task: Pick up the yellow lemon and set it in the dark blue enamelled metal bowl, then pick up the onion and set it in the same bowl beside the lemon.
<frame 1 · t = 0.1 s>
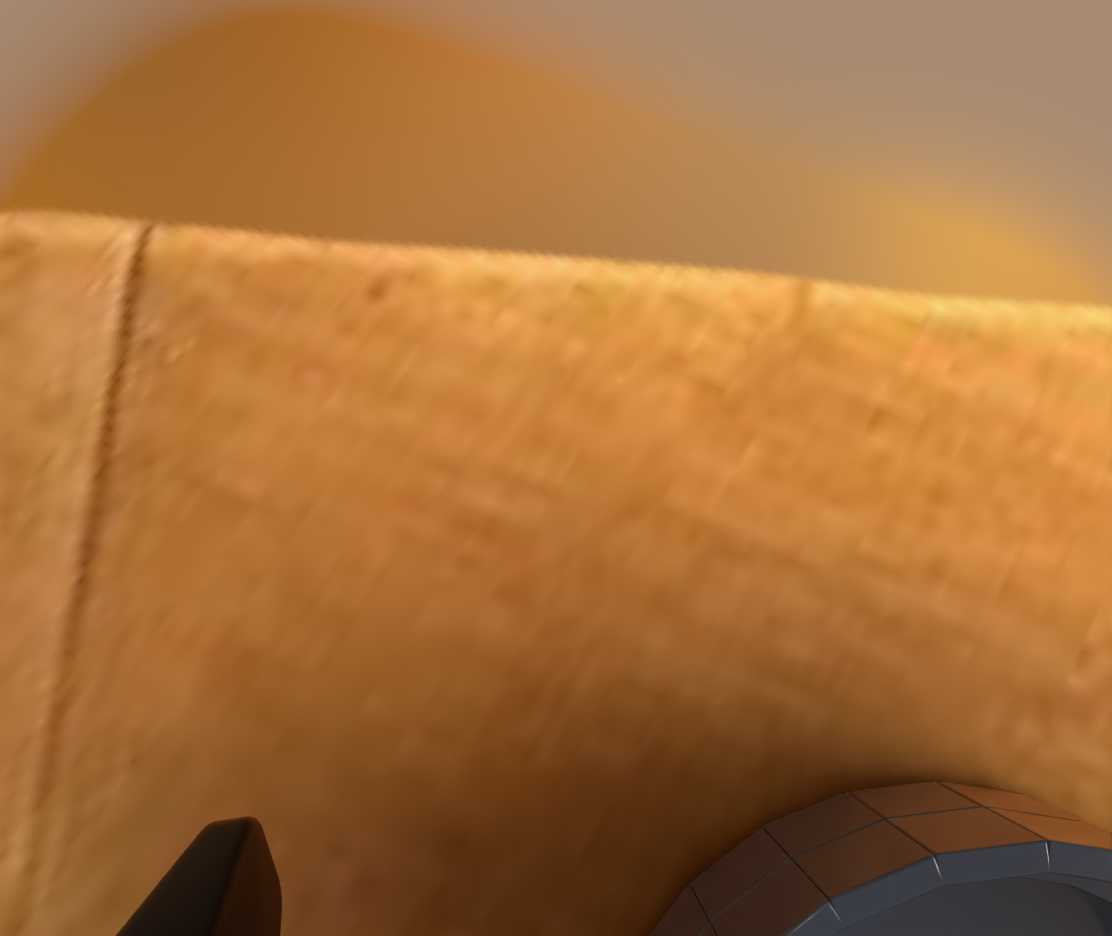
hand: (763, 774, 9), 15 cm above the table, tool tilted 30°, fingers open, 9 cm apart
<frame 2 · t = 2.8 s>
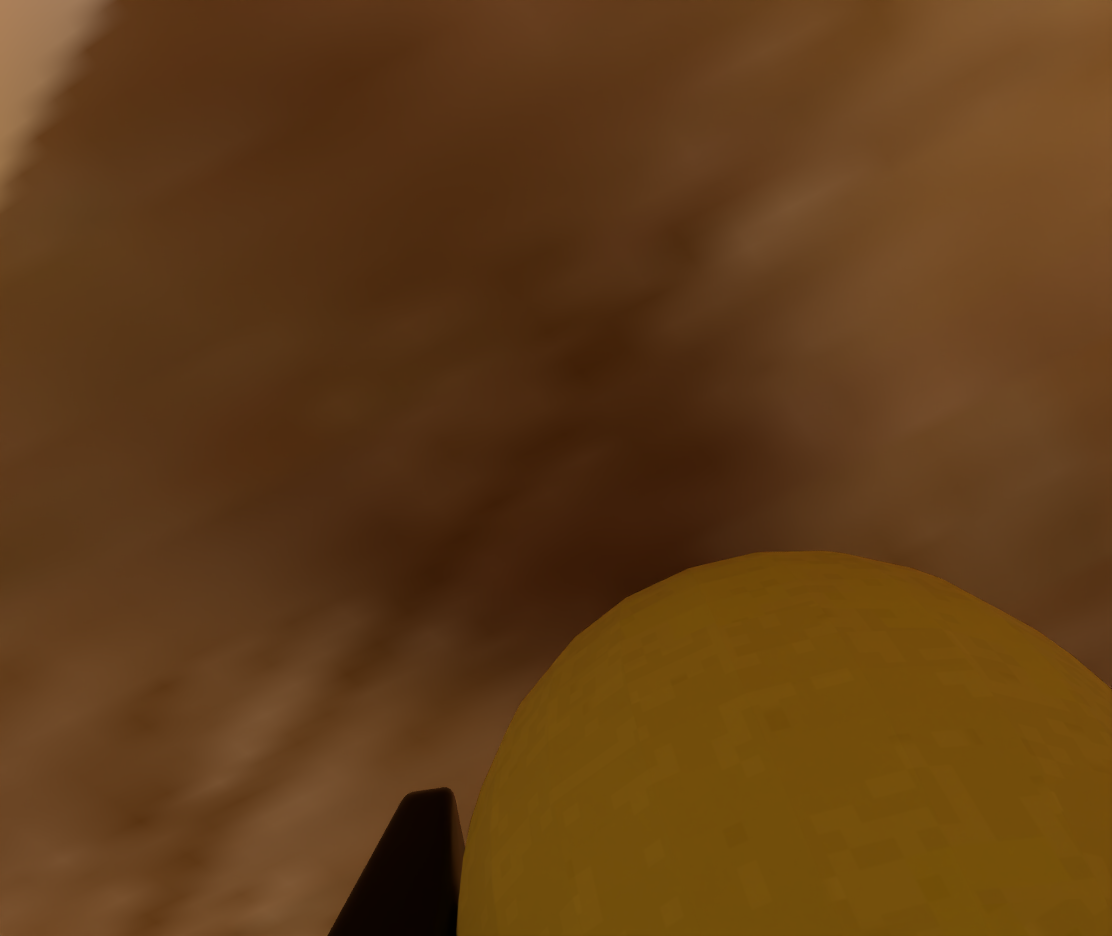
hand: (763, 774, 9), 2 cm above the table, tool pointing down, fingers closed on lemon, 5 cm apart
lemon: (700, 627, 11), on the table, touching gripper
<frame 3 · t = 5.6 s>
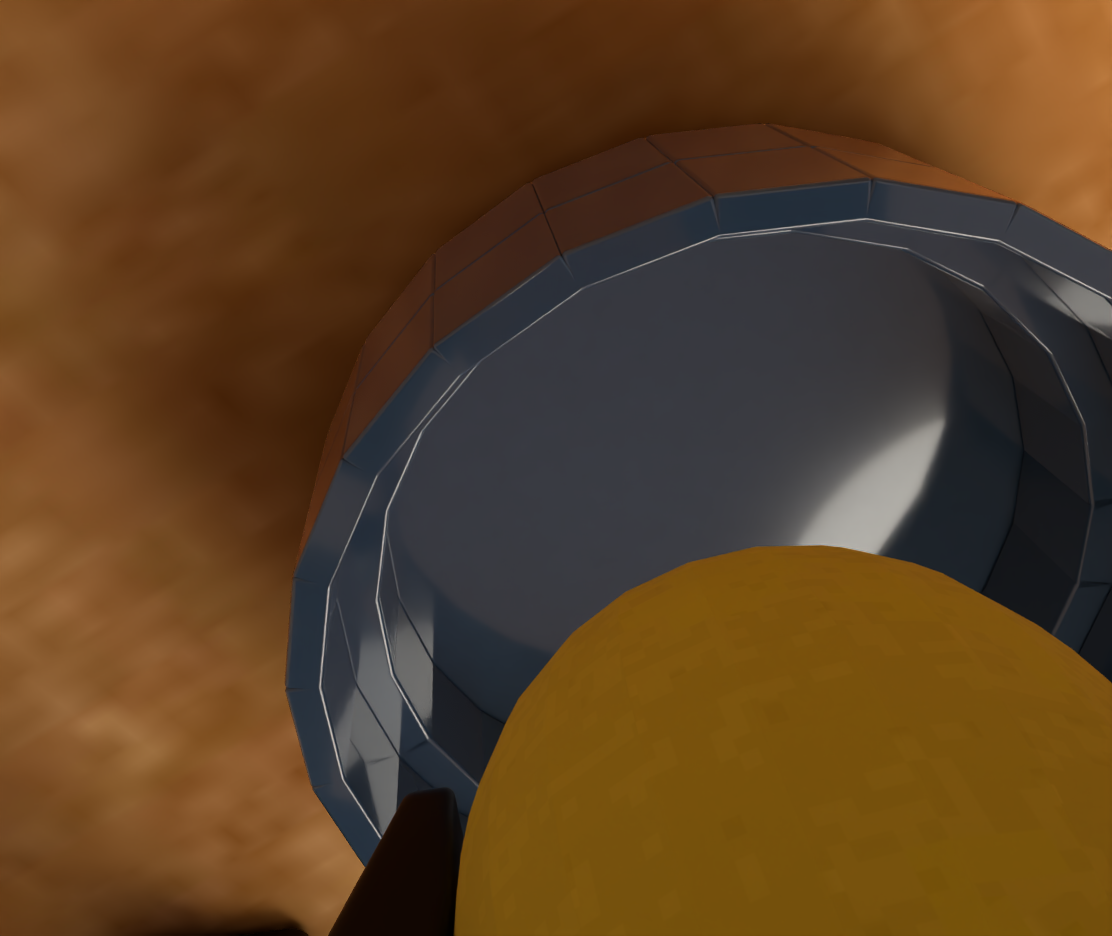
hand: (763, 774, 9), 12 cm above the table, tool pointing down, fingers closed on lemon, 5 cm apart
bowl: (704, 513, 22), on the table
lemon: (700, 623, 11), point 10 cm above the table, touching gripper
when the fingers open (3 cm above the table, at t = 8.8 s): lemon stays where it is, resting on bowl.
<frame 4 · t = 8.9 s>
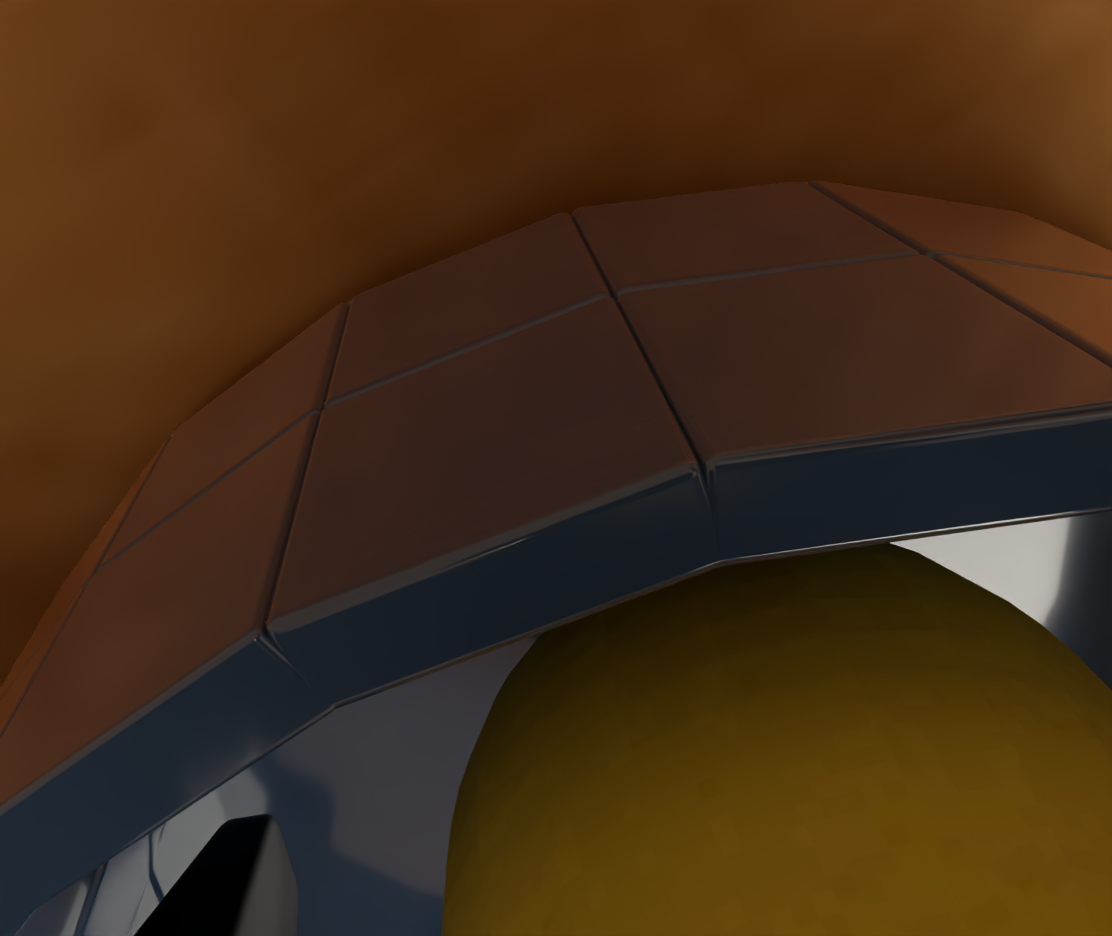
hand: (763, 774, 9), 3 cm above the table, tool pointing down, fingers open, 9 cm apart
bowl: (700, 808, 13), on the table
lemon: (688, 606, 11), resting on bowl
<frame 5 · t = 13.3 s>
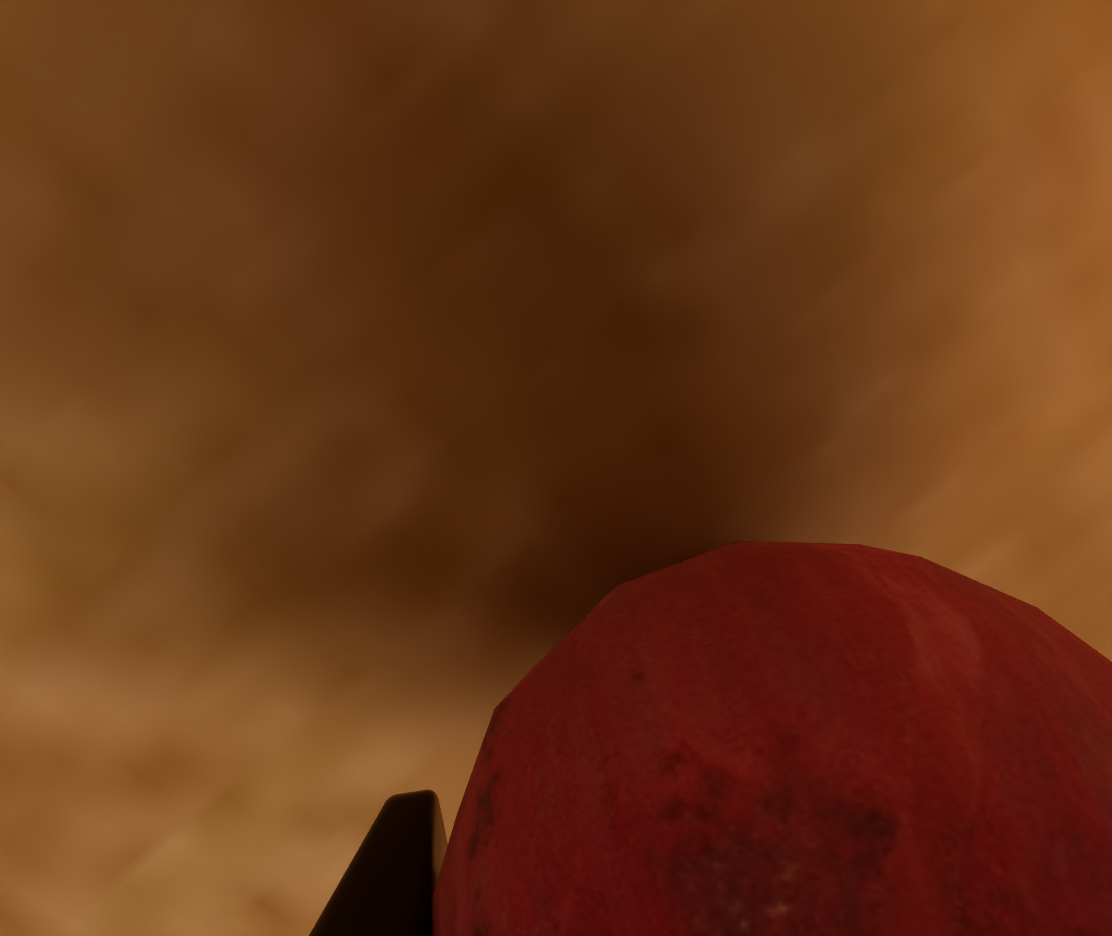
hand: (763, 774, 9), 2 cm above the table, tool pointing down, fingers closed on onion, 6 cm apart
onion: (699, 629, 11), on the table, touching gripper
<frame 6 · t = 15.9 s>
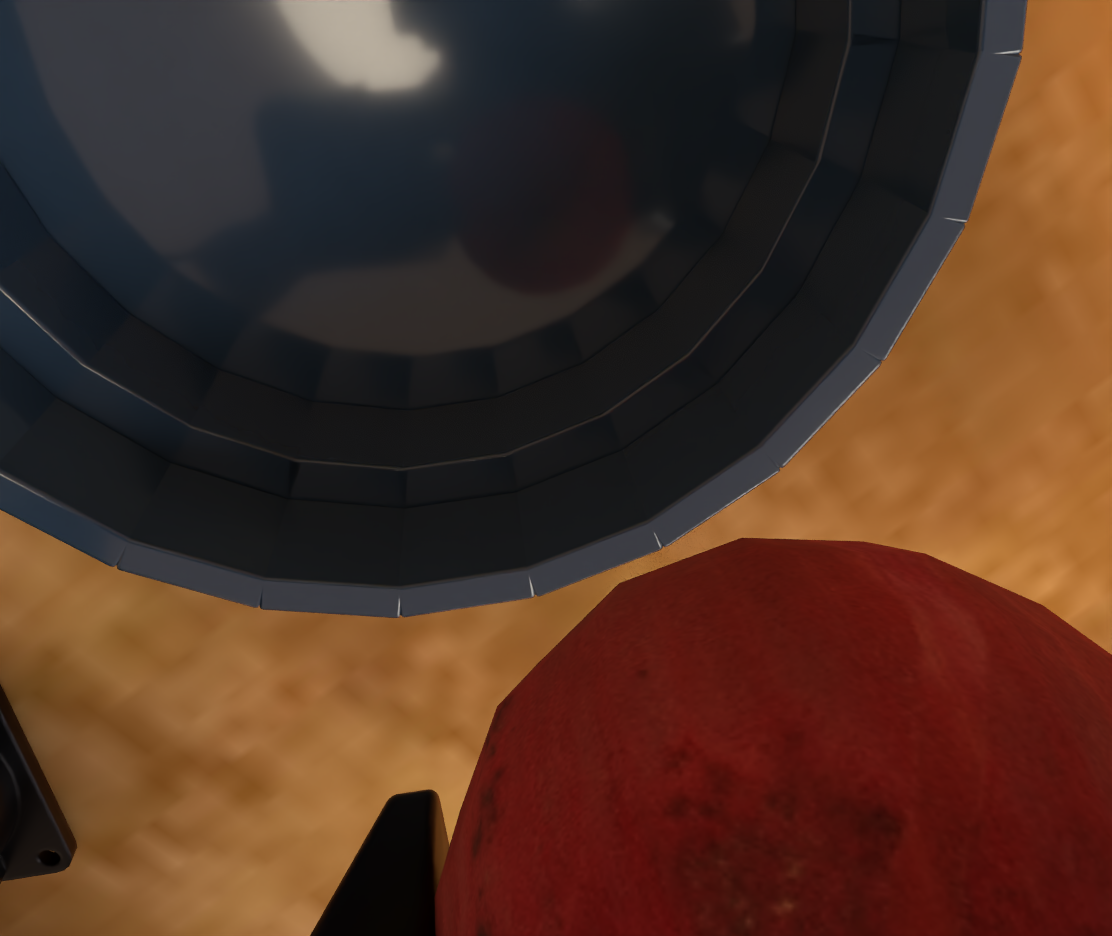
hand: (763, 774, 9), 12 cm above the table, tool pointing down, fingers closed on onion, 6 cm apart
onion: (702, 627, 11), point 10 cm above the table, touching gripper
bowl: (387, 22, 16), on the table
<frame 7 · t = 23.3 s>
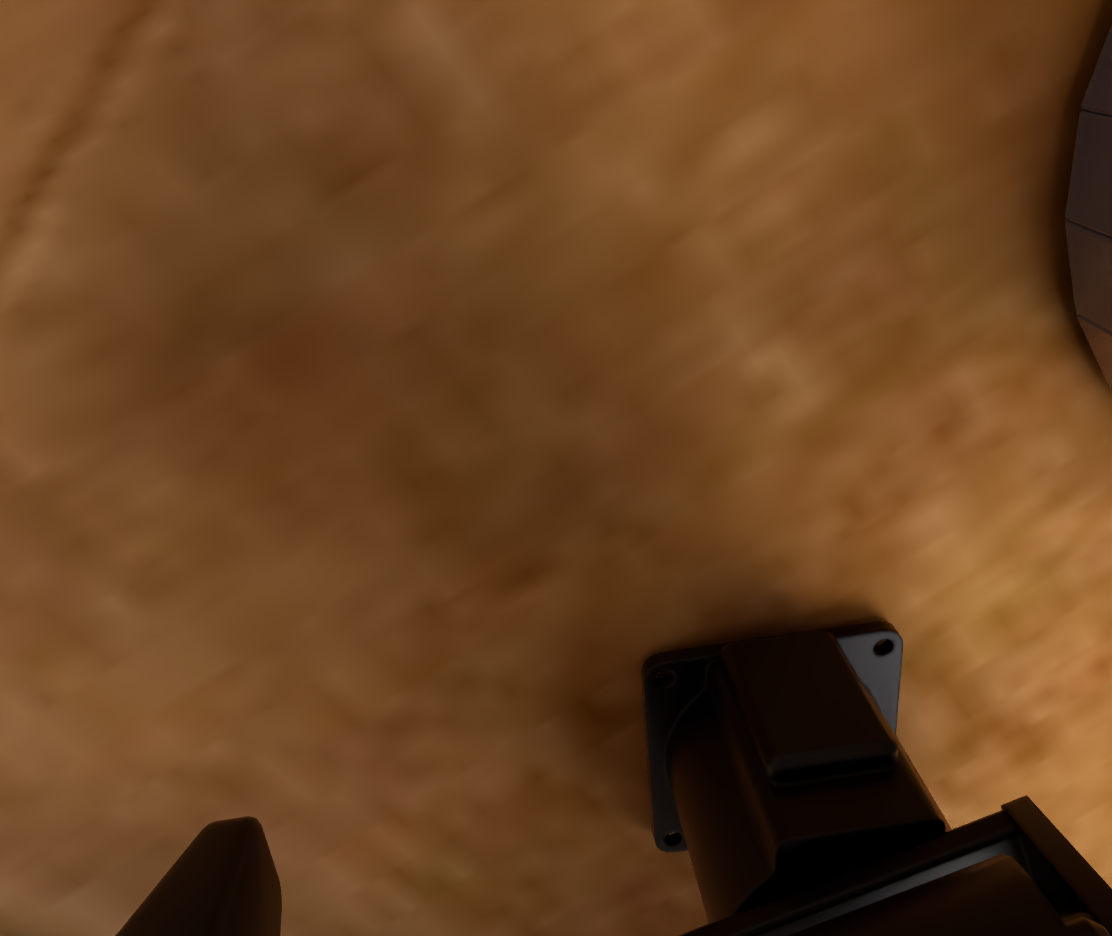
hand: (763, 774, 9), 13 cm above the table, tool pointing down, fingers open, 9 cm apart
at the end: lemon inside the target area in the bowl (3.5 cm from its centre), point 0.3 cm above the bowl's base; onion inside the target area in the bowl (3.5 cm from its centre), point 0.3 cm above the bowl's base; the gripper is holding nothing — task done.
